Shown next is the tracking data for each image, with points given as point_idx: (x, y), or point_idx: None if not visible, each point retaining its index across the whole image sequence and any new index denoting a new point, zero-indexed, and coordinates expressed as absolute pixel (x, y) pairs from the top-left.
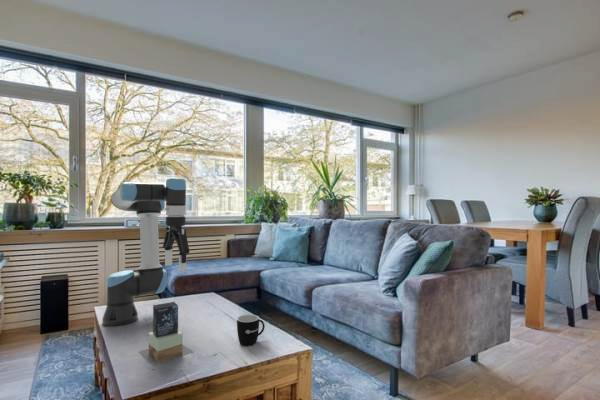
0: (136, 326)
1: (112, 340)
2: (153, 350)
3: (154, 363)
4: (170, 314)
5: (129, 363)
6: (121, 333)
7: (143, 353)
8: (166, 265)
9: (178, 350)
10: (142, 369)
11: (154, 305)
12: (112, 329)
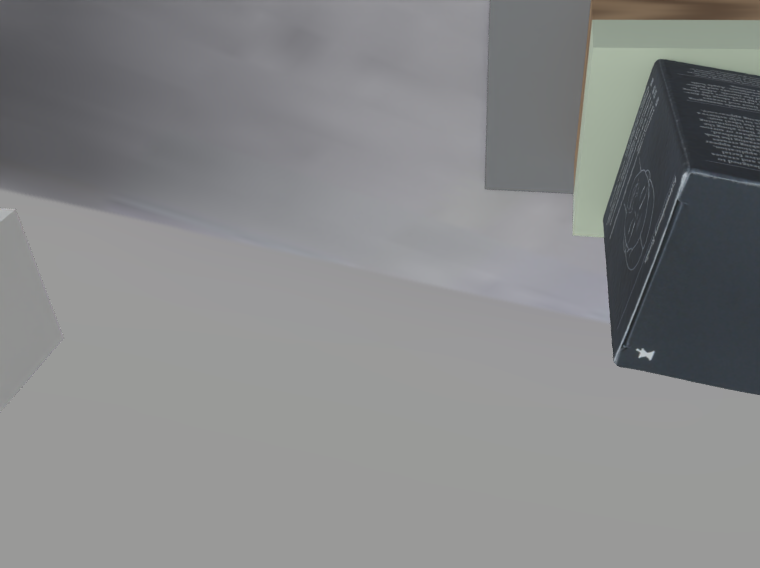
0: (12, 26)
1: (195, 215)
2: None
3: None
4: None
5: (587, 264)
6: (105, 143)
7: (534, 177)
8: (53, 333)
9: None
10: None
11: (640, 365)
12: (9, 157)
